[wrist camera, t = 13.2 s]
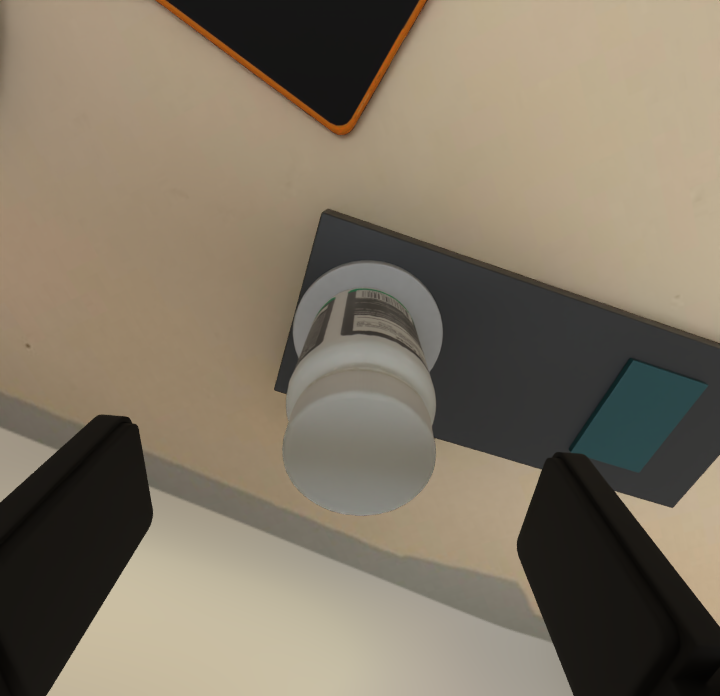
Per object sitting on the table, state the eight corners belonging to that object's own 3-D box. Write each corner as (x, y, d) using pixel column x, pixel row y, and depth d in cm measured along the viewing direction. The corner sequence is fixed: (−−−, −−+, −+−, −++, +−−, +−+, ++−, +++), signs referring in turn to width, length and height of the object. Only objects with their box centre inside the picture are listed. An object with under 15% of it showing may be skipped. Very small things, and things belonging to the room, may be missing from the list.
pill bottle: (332, 392, 19) (302, 541, 11) (297, 302, 17) (233, 405, 9) (428, 368, 18) (466, 509, 11) (401, 271, 16) (425, 355, 9)
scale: (281, 372, 22) (270, 397, 19) (327, 208, 18) (319, 213, 16) (650, 483, 24) (681, 517, 21) (754, 355, 20) (805, 379, 18)
